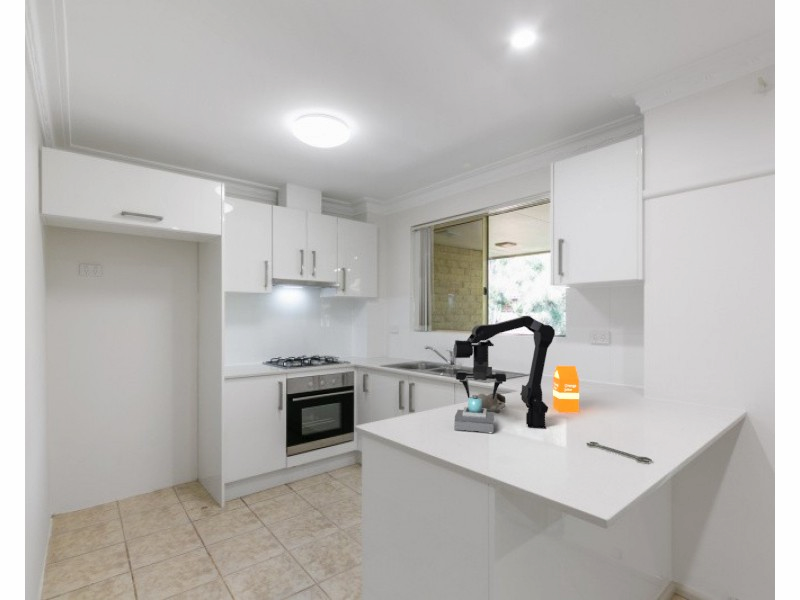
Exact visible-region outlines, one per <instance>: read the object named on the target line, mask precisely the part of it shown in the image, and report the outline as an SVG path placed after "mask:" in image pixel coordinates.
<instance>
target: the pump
mask: <svg viewBox="0 0 800 600" xmlns="http://www.w3.org/2000/svg"><path fill="white" fill-rule="evenodd" d="M477 395H478V394H477ZM477 395H476V394H474V395H472V396H470V397H469V398H468V397H467V400H468V401H467V404H468V405H467V407H468V412H476V413H482V398H479V397H478V396H477Z"/></svg>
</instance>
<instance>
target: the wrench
mask: <svg viewBox="0 0 800 600" xmlns="http://www.w3.org/2000/svg"><path fill="white" fill-rule="evenodd" d="M586 447H588V448H592V449H599V450H601V451H604V450H605V452H608V453H611V452H612V454H614V453H615V454H614V455H617V454H618V456H620V455H621V456H620V457H625V458H627V459H631V460H634V461H636V462H637V463H638V464H642V465H650V464H653V460H652V459H651V458H650V457H648V456H639V455H636V454H632V453H629V452H626V451H625V452H624V451H622V450H618V449H616V448H612V447H609V446H606V445H602V444H600V443H599V442H595V441H589V442H586Z"/></svg>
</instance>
